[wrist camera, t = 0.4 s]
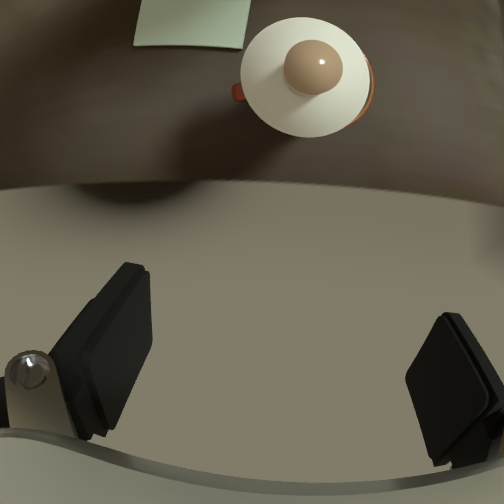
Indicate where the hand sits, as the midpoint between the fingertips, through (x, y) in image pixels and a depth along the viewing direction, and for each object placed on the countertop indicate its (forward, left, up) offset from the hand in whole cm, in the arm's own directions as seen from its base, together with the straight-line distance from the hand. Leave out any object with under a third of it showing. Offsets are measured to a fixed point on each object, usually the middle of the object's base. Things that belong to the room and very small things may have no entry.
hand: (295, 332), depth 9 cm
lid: (-9, 0, -18) cm, 21 cm away
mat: (-19, -13, -29) cm, 37 cm away
